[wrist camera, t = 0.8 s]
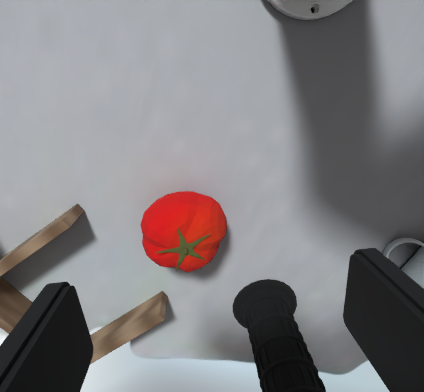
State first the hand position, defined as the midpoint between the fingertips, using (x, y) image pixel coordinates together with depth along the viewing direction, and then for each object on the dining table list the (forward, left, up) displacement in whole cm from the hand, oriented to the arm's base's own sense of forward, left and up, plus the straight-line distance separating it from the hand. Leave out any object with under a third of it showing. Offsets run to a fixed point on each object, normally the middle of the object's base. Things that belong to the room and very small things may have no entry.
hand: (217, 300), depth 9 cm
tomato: (+7, +6, -26) cm, 27 cm away
